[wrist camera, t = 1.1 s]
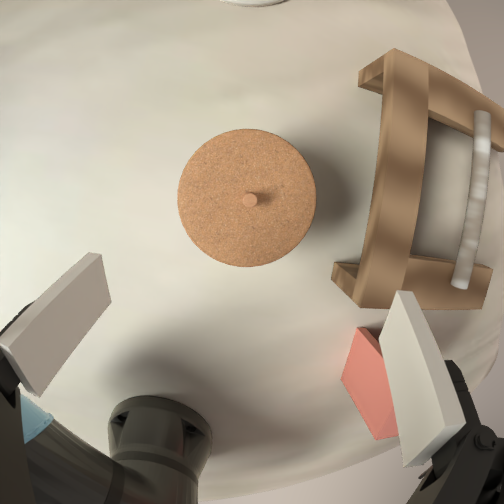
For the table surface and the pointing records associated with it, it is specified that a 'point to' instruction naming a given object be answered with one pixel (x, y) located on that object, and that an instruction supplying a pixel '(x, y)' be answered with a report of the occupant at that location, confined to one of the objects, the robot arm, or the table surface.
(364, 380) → the salmon red channel block
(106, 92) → the table surface
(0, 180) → the table surface
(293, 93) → the table surface
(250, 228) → the lidded jar
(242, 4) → the candlestick
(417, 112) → the wooden frame with rod
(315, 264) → the table surface
